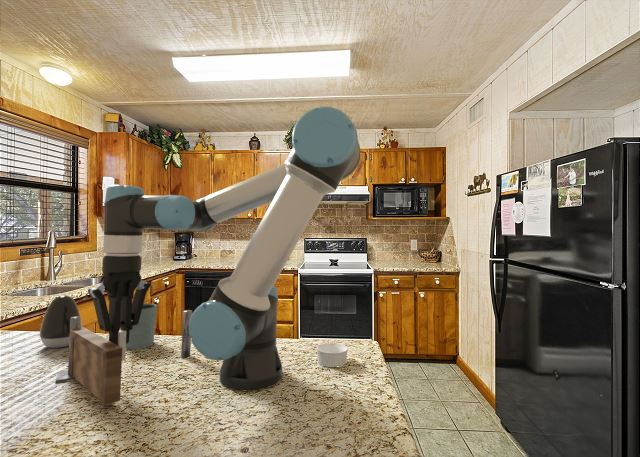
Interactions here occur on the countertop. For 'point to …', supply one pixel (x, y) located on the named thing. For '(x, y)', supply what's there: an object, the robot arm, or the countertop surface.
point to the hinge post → (65, 374)
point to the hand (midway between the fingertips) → (118, 359)
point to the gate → (96, 364)
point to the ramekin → (332, 354)
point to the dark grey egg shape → (58, 322)
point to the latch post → (186, 334)
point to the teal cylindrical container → (143, 328)
